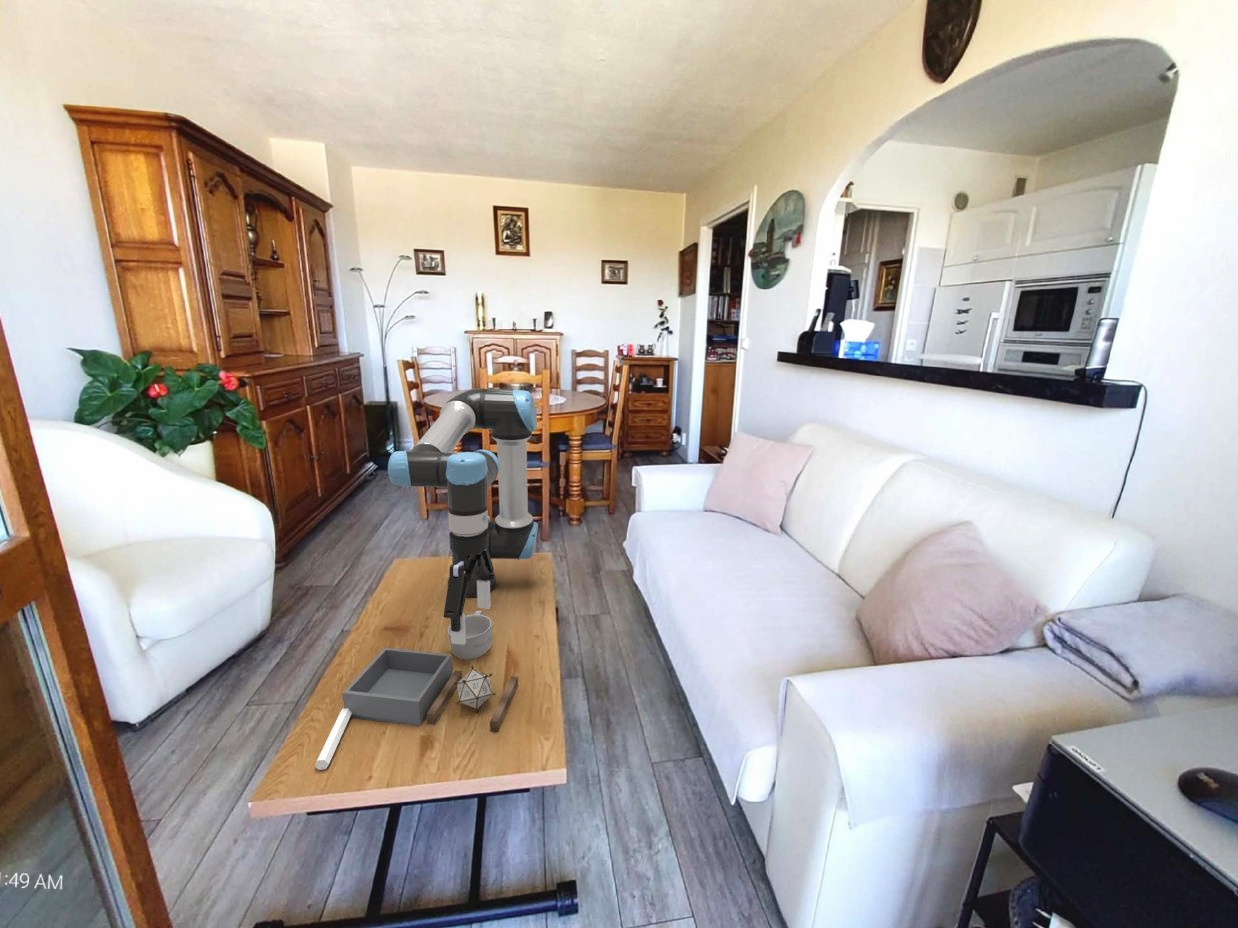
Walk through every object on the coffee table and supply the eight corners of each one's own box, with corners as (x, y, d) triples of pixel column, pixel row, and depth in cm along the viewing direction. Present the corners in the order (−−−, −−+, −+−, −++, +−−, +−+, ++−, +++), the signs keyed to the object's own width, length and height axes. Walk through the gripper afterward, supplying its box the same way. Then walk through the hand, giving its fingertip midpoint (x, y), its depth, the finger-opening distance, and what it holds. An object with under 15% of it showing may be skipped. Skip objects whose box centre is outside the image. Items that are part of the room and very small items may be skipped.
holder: (455, 679, 116) (455, 669, 115) (518, 685, 114) (518, 676, 114) (427, 723, 102) (426, 713, 102) (497, 732, 101) (497, 721, 100)
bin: (386, 669, 118) (384, 647, 117) (452, 676, 116) (451, 654, 115) (345, 716, 103) (342, 692, 101) (420, 725, 101) (418, 701, 100)
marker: (352, 709, 106) (324, 771, 90) (342, 706, 105) (312, 768, 90) (357, 700, 105) (330, 760, 90) (348, 696, 105) (319, 757, 90)
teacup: (480, 668, 120) (479, 640, 118) (440, 661, 122) (438, 633, 120) (504, 636, 133) (504, 610, 131) (467, 630, 135) (466, 604, 133)
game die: (470, 713, 110) (466, 666, 114) (504, 705, 109) (499, 658, 112) (447, 721, 102) (443, 670, 106) (484, 713, 101) (478, 662, 104)
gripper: (461, 557, 86) (465, 662, 91) (507, 511, 110) (508, 596, 115) (420, 554, 86) (426, 658, 91) (475, 508, 110) (477, 593, 115)
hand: (472, 624), depth 103 cm, fingers open, 13 cm apart
